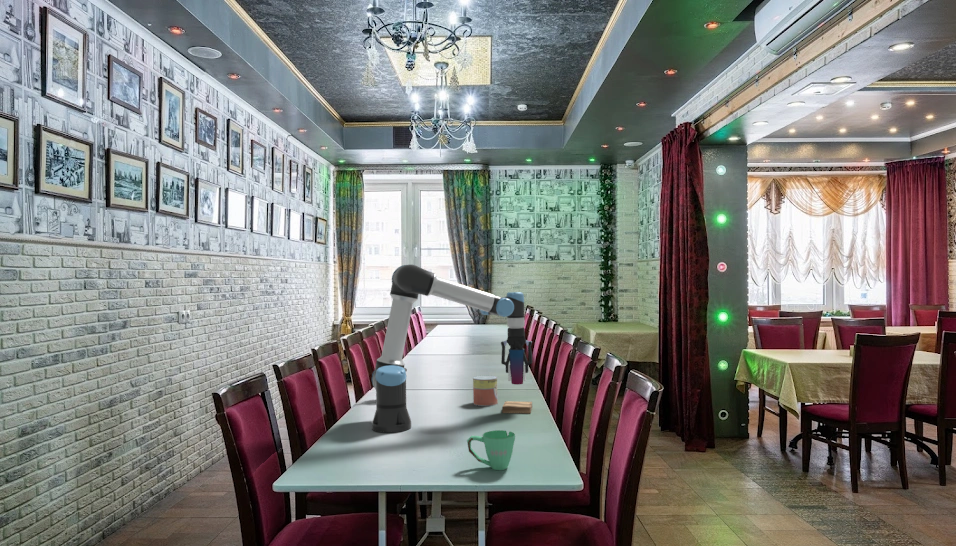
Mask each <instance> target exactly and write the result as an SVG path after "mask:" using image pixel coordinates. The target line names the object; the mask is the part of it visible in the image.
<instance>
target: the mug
mask: <svg viewBox="0 0 956 546" xmlns="http://www.w3.org/2000/svg"><path fill="white" fill-rule="evenodd" d="M515 440H516V433H515V432H514V431H508V432H507V430H500V429H499V430H496V429H495V430H489V431H486V432H484V433H483V434H482V436H479V435H471V436H470V437H469V438H468V439H467V440H466V442H467V450H468V452H469V454H470V455H472V457H474V458H475V460H476V461H478V462H480V463H482V464H484V465H485V466H486V465H487V466H489V467H490V468H491V469H492V470H495V471H504V470H507V469H508V467H509V465H510V462H511V458H512V455H513V451H514V445H515V442H516V441H515ZM472 441H477V442H481V443H483V444H484V449H485V453H486V457H487V459H488V460H487V459H484V458H483V457H480V456H479V455H478V454H477V453H476V452H475V451H474V449H473V448H472Z"/></svg>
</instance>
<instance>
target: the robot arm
mask: <svg viewBox="0 0 956 546" xmlns="http://www.w3.org/2000/svg"><path fill="white" fill-rule="evenodd" d="M389 295H390V297H391V298H392V301H391V306H390V311H389V316H388V321H387V326H386V331H385V336H384V341H383V347H382V351H381V356H380V357H378V358H377V359H376V362H375V368H374V370H373V372H372V375H371V383H372V386H373V388H374V389H375V394H376V395H375V398H376V401H375V404H376V407H375V412H374V415H373V419H372V421H371V422H372V423H371V428H372V430H373V432H378V433H387V434H388V433H389V434H390V433H400V432H404V431H408V430H411V428H412V419H411V417H410V413H409V410H408V407H407V373H406V372H407V371H405V369H404V368H405V365H406V364H405V362H404V361H403V356H404V351H405V347H406V346H405V345H406V341H407V336H408V330H409V325H410V321H411V315H412V310H413V305H414V303H415V302H416V301H418V299H419V295H423V296H425V297H429V296H431V295H432V296H433V297H437V298H441V299H444V300H447V301H451V302H453V303H457V304H461V305H464V306H468V307H470V308H473V309H478V310H479V311H480V313H481V315H483V316H498V317H499V316H500V317H503V318H506V322H507V324H506V325H507V339H506V340H502V341H500V345H501V360H500V361H501V365H504V367H505V373H506V374H507V377H508V378H507V379H508V382H511V370H510V355H509V353H508V354H507V358H506V346H507V344H508V345H509V349H510V350H513V349H516V348H517V349H520V350H523V349H524V345H525V344H526V346H527V354H528V359H527V355H526V353H525V351H524V353H523V360H524V366H523V368H524V372H523V382H527V374H528V373H529V366H530V365H532V364H533V355H532V353H533V352H532V343H533V341H532V340H527V339H526V330H525V323H526V322H525V296H524V293H523V292H522V291H521V292H520V291H515V292H514V291H511V292H509V291H508V292H507V293H506V296H499V295H495V294H493V293H491V292H487V291H483V290H480V289H477V288H473V287H471V286H468V285H464V284H462V283H459V282H458V283H457V282H455V281H452V280H449V279H445V278H443V277H439V276H437V274H436V272H432V271H429V270H427V269H425V268H423V267H420V266H418V265H415V264H404V265H400V266H399V267H397V268H396V269H395V270H394V272H393V273H392V276H391V288H390V293H389ZM505 358H506V359H505Z"/></svg>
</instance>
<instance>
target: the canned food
mask: <svg viewBox="0 0 956 546" xmlns="http://www.w3.org/2000/svg"><path fill="white" fill-rule="evenodd" d="M472 387H473V388H472V389H473V393H472V394H473V405H474V404H475V406H477V405H478V406H479V407H491V406H492V407H493V406H496V405H497V404H498V403H499V402H498V376H495V375H476V376H473V377H472Z"/></svg>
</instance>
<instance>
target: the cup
mask: <svg viewBox="0 0 956 546" xmlns="http://www.w3.org/2000/svg"><path fill="white" fill-rule="evenodd" d="M524 352H525V348H523V350H520V349H517V348H516V349H513V350H510V348H508V354H509V355H510V361H509V365H510V370H511V380H510V382H511V384H512V385H523V384H524V368H523V366H524V365H525V363H524V360H523V353H524Z"/></svg>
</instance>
